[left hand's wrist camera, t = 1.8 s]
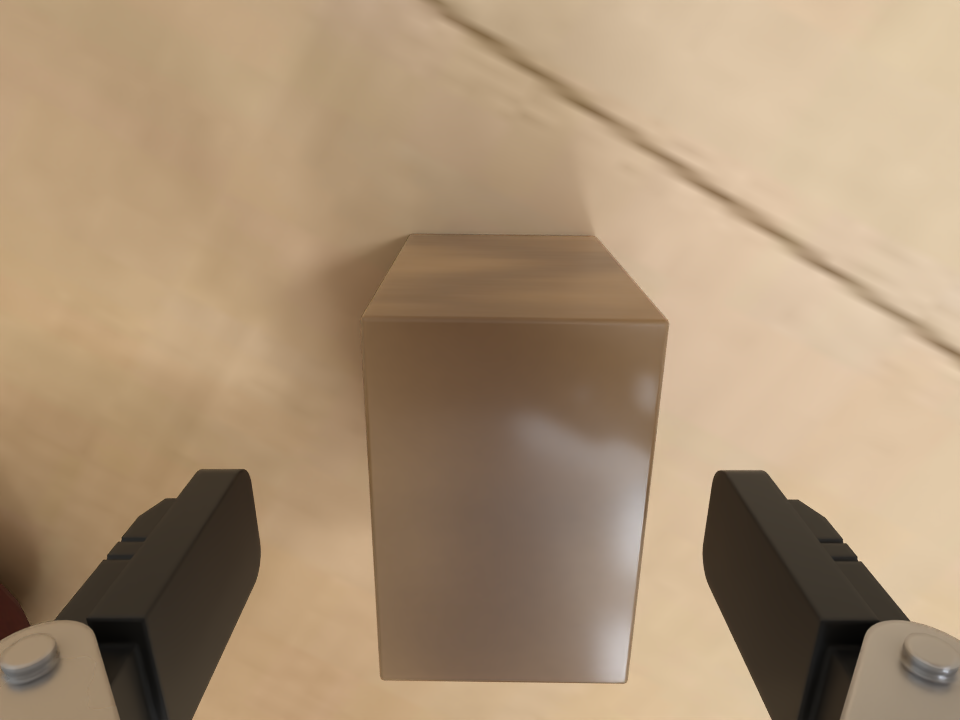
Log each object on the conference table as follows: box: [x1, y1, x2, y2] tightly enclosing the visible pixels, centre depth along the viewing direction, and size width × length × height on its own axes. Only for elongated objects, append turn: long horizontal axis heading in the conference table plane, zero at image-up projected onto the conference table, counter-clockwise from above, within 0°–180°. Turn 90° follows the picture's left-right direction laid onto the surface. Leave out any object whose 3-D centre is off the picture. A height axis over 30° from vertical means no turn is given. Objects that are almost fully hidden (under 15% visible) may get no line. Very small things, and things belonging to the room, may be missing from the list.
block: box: [360, 234, 669, 684], centre depth 15 cm, size 5×8×7 cm, turn 0°
